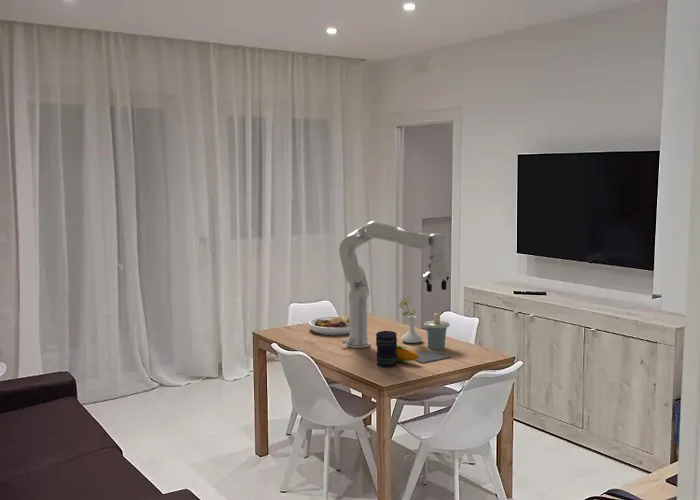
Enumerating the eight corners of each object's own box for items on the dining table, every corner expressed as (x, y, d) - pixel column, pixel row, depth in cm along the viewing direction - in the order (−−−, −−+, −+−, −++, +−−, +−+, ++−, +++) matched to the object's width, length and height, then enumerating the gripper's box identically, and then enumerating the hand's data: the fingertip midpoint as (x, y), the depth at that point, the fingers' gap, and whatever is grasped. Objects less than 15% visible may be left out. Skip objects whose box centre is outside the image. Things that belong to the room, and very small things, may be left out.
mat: (422, 363, 317) (422, 362, 317) (404, 356, 329) (404, 355, 329) (451, 357, 327) (451, 356, 327) (432, 351, 339) (432, 350, 339)
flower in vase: (416, 338, 365) (417, 293, 362) (426, 343, 354) (426, 297, 351) (395, 340, 360) (395, 295, 357) (403, 345, 350) (403, 299, 347)
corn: (385, 341, 328) (422, 346, 319) (384, 356, 329) (422, 362, 319) (378, 344, 322) (416, 349, 312) (378, 359, 322) (415, 365, 313)
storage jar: (401, 363, 316) (400, 332, 314) (389, 369, 309) (388, 338, 306) (384, 359, 322) (383, 329, 320) (372, 365, 315) (371, 334, 312)
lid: (435, 329, 335) (435, 317, 334) (419, 324, 346) (419, 313, 345) (454, 326, 342) (455, 314, 341) (438, 321, 353) (438, 310, 352)
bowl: (302, 327, 394) (302, 314, 393) (348, 322, 406) (348, 309, 405) (319, 338, 367) (319, 324, 366) (369, 333, 378) (369, 319, 378)
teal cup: (429, 344, 352) (429, 322, 350) (448, 346, 348) (448, 323, 347) (425, 349, 342) (425, 326, 341) (444, 351, 339) (444, 328, 337)
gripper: (428, 259, 332) (428, 293, 334) (454, 257, 341) (454, 290, 343) (419, 258, 338) (418, 291, 340) (445, 255, 347) (444, 287, 349)
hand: (436, 290), depth 342 cm, fingers open, 9 cm apart
